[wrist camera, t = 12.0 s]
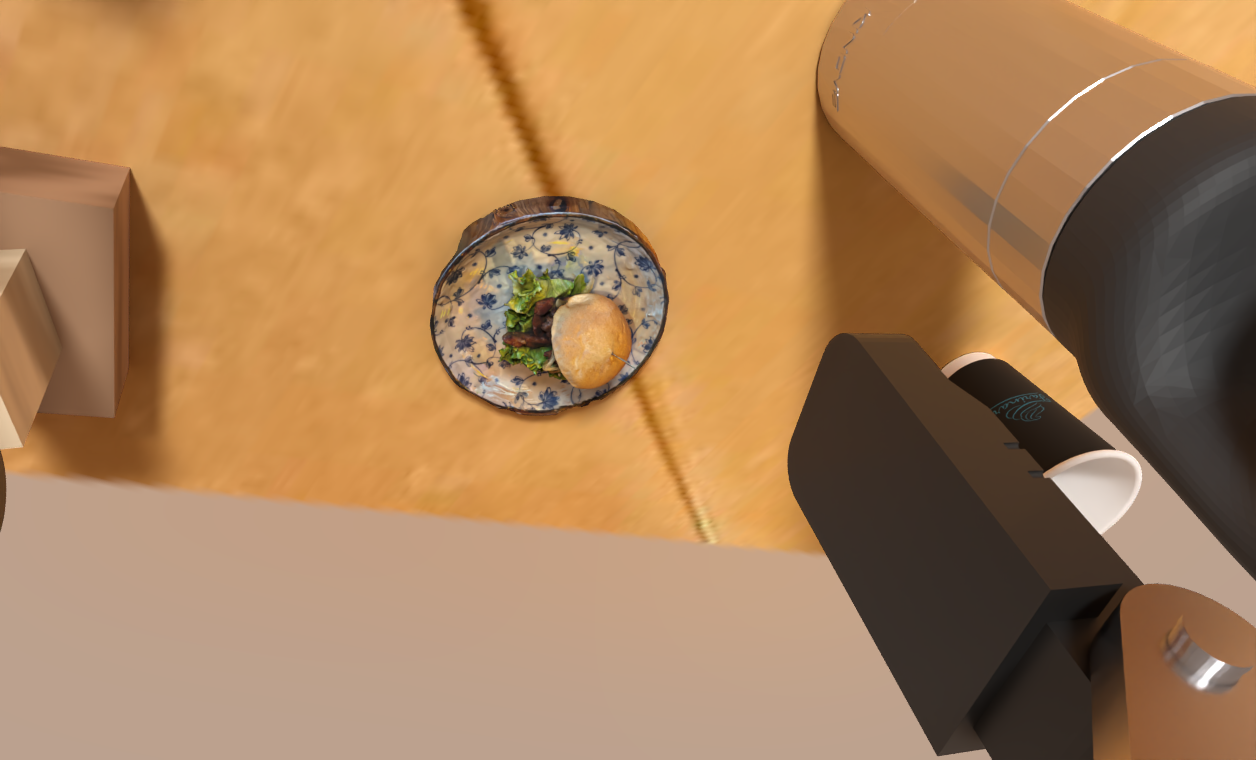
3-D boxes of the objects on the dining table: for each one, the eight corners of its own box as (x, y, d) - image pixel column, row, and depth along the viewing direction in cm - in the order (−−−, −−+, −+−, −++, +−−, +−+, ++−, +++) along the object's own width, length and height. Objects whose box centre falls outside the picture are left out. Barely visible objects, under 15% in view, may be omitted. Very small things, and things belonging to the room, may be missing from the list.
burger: (414, 204, 40) (427, 294, 34) (668, 182, 43) (719, 262, 37) (440, 410, 48) (455, 511, 42) (655, 381, 50) (696, 473, 44)
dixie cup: (948, 448, 60) (1048, 576, 51) (880, 401, 55) (978, 533, 47) (1044, 365, 57) (1166, 486, 49) (981, 309, 52) (1103, 431, 44)
